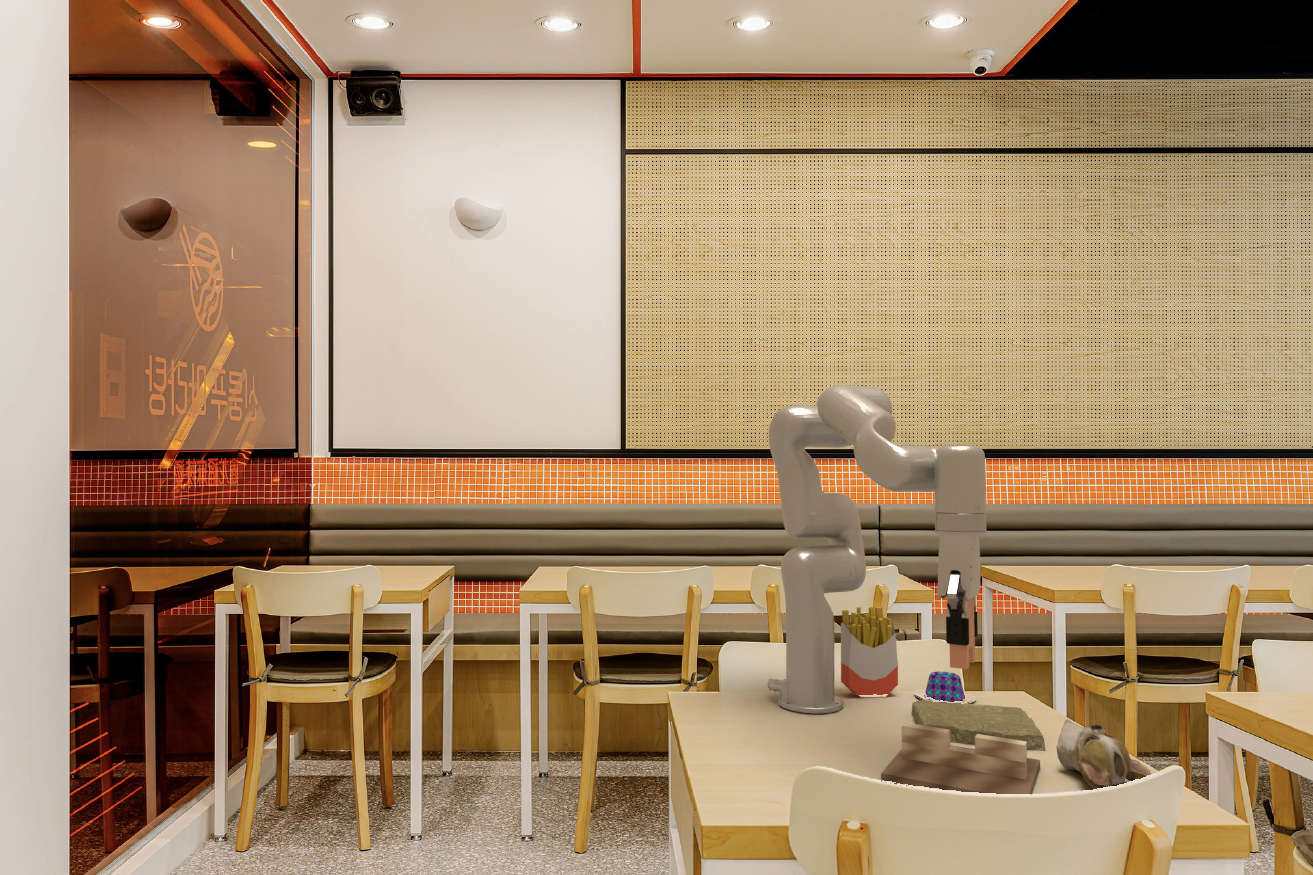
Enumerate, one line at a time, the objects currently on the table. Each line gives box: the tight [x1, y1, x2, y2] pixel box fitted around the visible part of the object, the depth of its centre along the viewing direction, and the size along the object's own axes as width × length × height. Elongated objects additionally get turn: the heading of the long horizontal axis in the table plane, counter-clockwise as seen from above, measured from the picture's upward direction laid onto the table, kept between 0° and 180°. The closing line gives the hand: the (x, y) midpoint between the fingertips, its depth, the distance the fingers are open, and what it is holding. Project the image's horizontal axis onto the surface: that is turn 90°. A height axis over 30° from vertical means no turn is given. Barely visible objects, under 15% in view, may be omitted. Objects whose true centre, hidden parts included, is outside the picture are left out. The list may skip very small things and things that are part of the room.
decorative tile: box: [911, 699, 1046, 752], centre depth 148 cm, size 19×20×4 cm
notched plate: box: [949, 596, 976, 670], centre depth 127 cm, size 2×7×10 cm, turn 150°
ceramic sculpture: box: [1056, 719, 1152, 789], centre depth 124 cm, size 11×9×15 cm
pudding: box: [914, 671, 977, 704], centre depth 170 cm, size 12×12×5 cm
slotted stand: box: [880, 722, 1041, 795], centre depth 126 cm, size 20×19×6 cm
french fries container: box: [840, 606, 899, 696], centre depth 172 cm, size 5×11×18 cm, turn 101°
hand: (962, 639), depth 127 cm, fingers closed on notched plate, 7 cm apart
